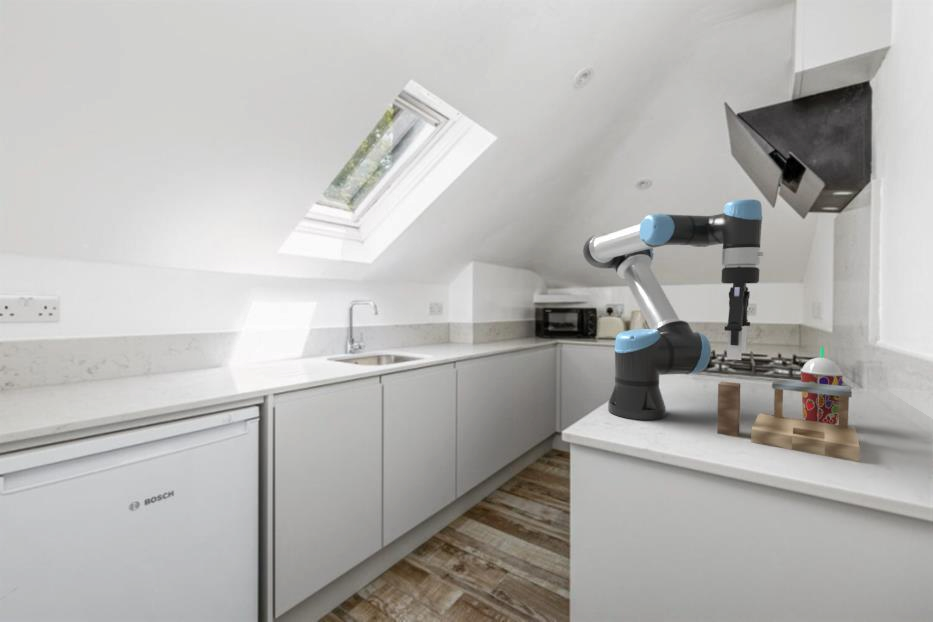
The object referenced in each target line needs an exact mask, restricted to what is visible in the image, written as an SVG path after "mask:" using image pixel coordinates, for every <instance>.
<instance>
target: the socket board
mask: <svg viewBox="0 0 933 622" xmlns="http://www.w3.org/2000/svg"><path fill="white" fill-rule="evenodd" d="M771 388H772V389H774V399H773V401H774V402H773V403H774V404H773V414H767V413H766V414H765V413H758V414H757V416H756V419H755V420H754V423H753V425H752V427H751V431H750V432H751V433H750V434H751V435H750V437H751V438H750V440H751V441H750V442H751V443H755V444H760V445H766V446H771V447H776V448H782V449H788V450H794V451H798V452H804V453H809V454H815V455H820V456H825V457H831V458H835V459H842V460H847V461H853V462H858V463H859V462H860V455H861V453H860V452H861V451H860V448H861V447H860V443H859V442H860V441H859V440H858V435H857V431H856V428H855V427H854V426H849V409H850V408H849V406H850V405H849V403H850V401H849V398H852V396H853V395H852V393H853V392H852V389H851V386H846V385H842V386H837V385H827V384H817V383H808V382H801V381H798V380H796V381H795V380H787V379H776V378H774V379H773V381H772V383H771ZM784 391H790V392H791V391H793V392H799V393H800V392H801V393H802V392H808V393H817V394H826V395H834V396H839V414H838V422H837V424H836V423H835V424H828V423H821V422H815V421H808V420H805V419H799V418H794V417H792V418H791V417H786V416H783V413H784V412H783V409H784V408H783V405H784V404H783V403H784Z"/></svg>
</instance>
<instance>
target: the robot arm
mask: <svg viewBox="0 0 933 622" xmlns="http://www.w3.org/2000/svg"><path fill="white" fill-rule="evenodd" d="M762 209H763V208H762V202H761V201H760V200H758V199H749V198H748V199H737V200H731V201H728V202H726V203H725V205H724V207H723V211H722V212H723V213H722V212H721V213H720V214H714V215H691V214H690V215H689V214H686V215H684V214H665V213H656V214H648V215H646V216H644V219H642V221H641V222H640V223H638V224H635V225H631V226H628V227H626V228H622V229H619V230H616V231H614V232H611V233H605V232H601V233H597V234H595V235H592V236H590V237H589V238H588V239H587V240H586V241H585V243H584V244H583V249H582V254H583V257H584V259H585V261H586V262H587V263H588V264H589V265H591V266H592V267H596V268H598V269H613V270H615V272H616V273H617V276H618V277H619V278H620V279H622V280H623V279H624V280H625V281H626V283H627V285H628V288H629V289H630V291H631V294H632V296H633V297H634V299H635V301H636V304H637V306H638V307H639V308H638V309H640V311H641V314H642V315H643V318H644V320H645V322H646V324H647V326H648V328H642V329H640V328H639V329H637V328H636V329H630V330H624V331H622V332H619V333H618V334H617V335H616V336H615V342H614V385H613V389H612V391H611V394H610V397H609V400H608V403H607V404H608V405H607V410H608V412H609V413H611V414H612V415H614V416H618V417H621V418H627V419H630V420H631V419H632V420H640V421H642V420H643V421H645V420H647V421H652V420H658V419H659V420H660V419H664V418H665V417H666V416H667V415H666V411H667V409H666V404H665V401H664V399H663V398H664V397H663V395H662V392H661V389H660V376H661V375H662V376H663V375H682V374H683V375H690V374H695V373H696V374H697V373H701V372H702V371H704V370H705V369H706V368H707V366H708V365H709V363H710V361H711V355H712V348H711V347H712V346H711V342H710V340H709V338H708V337H707V336H706V335H705V334H704V333H700V332H698V331H696V332H694V331H693V329H692V327H691V326H690V324H689V323H688V322H687V321H686V320H684V319H683V320H682V319H680V318H679V316H678V315H677V312H676V311H675V309H674V307H673V305H672V304H671V302H670V300H669V299H668V297H667V295H666V292H665V291H664V290H663V288H662V286H661V284H660V282H659V280H658V279H657V277H656V275H655V274H654V272H653V270H652V268H651V266H652V262H653V259H654V252H653V251H654V248H659V247H663V246H676V245H677V246H691V247H694V248H697V247H698V248H699V247H703V248H705V247H710V246H716V245H722V251H721V265H722V266H723V268H722V269H721V283H722V284H732V286H731V287H730V288H729V292H728V298H729V299H728V306H729V308H728V319H727V325H725V326H724V331H727V345H726V347H727V348H726V349H727V350H726V353H727V354H726V359H727V360H735V361H742V353H746V352H747V336H748V335H747V332H748V330H747V329H748V327H750V326H751V322H750V321H749V320H748V307H749V300H750V293H751V292H750V291H749V287H748V286H747V284H758V283H759V281H760V268H759V267H757V266H759V265H760V260H761V258H760V257H762V256H764V253H763V252H762V251H761V239H762V238H761V234H762V224H763V223H762V221H763V210H762Z"/></svg>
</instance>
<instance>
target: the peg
mask: <svg viewBox="0 0 933 622" xmlns="http://www.w3.org/2000/svg"><path fill="white" fill-rule="evenodd" d="M740 415H741V383H739V382H730V381H729V382H728V381H722V380H721V381H720V382H719V383H718V385H717V430H716V431H717V434H718V435H723V436H729V437H734V438H735V437H736V438H737V437H738V435H739V434H740V423H741V422H740V418H741V417H740Z"/></svg>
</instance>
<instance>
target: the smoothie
mask: <svg viewBox="0 0 933 622" xmlns="http://www.w3.org/2000/svg"><path fill="white" fill-rule="evenodd" d="M824 349H825V348H824V346H820V348H819V350H820V351H819V357H815V358H811V359H808V360H807V361H806V362H805V363H804V365H803V366H802V367H801V368H800V382H808V383H817V384H827V385H837V386H843V375H844V373H843V371H842V370H841V368H840V366H839V365H838V364H837V363H836V362H835V361H833V360H831V359H829V358H827V357H824ZM801 403H802V404H801V405H802V418H803V419H804V420H808V421H815V422H821V423H828V424H835V425H836V424H838V416H839V396H834V395H826V394H817V393H808V392H801Z"/></svg>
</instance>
